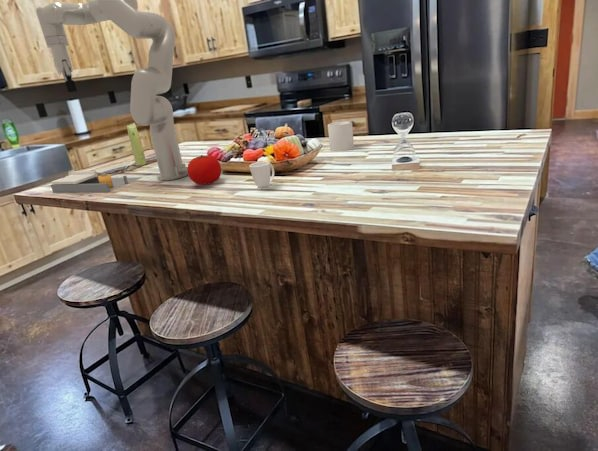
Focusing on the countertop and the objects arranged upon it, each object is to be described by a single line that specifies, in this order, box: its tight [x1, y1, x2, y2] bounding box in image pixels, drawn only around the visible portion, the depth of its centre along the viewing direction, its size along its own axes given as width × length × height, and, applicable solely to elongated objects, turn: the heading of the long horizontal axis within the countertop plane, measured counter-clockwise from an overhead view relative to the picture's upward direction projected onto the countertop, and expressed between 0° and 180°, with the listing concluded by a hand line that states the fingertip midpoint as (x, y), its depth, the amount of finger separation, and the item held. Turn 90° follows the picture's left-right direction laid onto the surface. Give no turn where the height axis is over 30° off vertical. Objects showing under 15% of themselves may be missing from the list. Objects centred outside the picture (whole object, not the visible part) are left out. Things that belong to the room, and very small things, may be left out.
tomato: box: [187, 154, 222, 185], centre depth 152 cm, size 11×12×10 cm
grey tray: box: [50, 175, 143, 194], centre depth 173 cm, size 30×20×4 cm, turn 68°
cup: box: [248, 160, 275, 191], centre depth 139 cm, size 7×10×8 cm
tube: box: [126, 122, 148, 167], centre depth 200 cm, size 6×5×20 cm
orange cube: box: [97, 173, 114, 188], centre depth 166 cm, size 5×5×5 cm
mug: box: [327, 120, 355, 152], centre depth 180 cm, size 14×10×11 cm
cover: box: [50, 170, 99, 185], centre depth 172 cm, size 15×11×5 cm
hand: (72, 91), depth 168 cm, fingers closed
